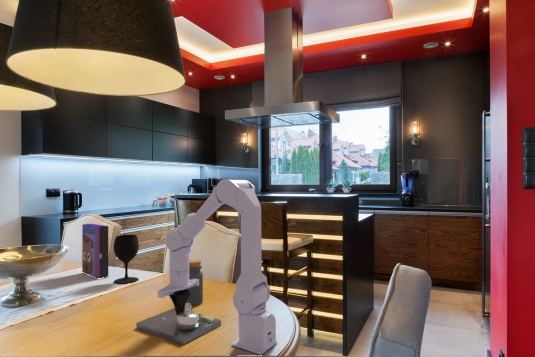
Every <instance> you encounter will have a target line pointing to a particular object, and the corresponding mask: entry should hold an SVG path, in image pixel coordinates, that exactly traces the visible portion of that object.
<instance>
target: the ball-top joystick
mask: <svg viewBox="0 0 535 357" xmlns="http://www.w3.org/2000/svg"><path fill="white" fill-rule="evenodd" d="M192 307H193V306H191V303H186V305H185V308H184V310H185V312H182V313H180V314H178V315H177V327H178V328H179V329H181V330H190V329H194V328H196V327H198V326H199V314H200V313H199V312H198V311H195V310H194V311H193V310H192Z"/></svg>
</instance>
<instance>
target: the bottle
mask: <svg viewBox="0 0 535 357" xmlns="http://www.w3.org/2000/svg"><path fill="white" fill-rule="evenodd" d="M201 262H202V260H201V259H191V260H190V259H189V280H191V279H199V286H194V287H191V288H188V289H187V290H189V291H190V296H189V297H188V299H187V302H186V303H191V306H192V307H194V306H199V305H202V304H203V303H204V296H203V295H204V294H203V293H204V279H203V278H204V274H203V272H202V271H201V269H202V268H203V266H202V264H201Z"/></svg>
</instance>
